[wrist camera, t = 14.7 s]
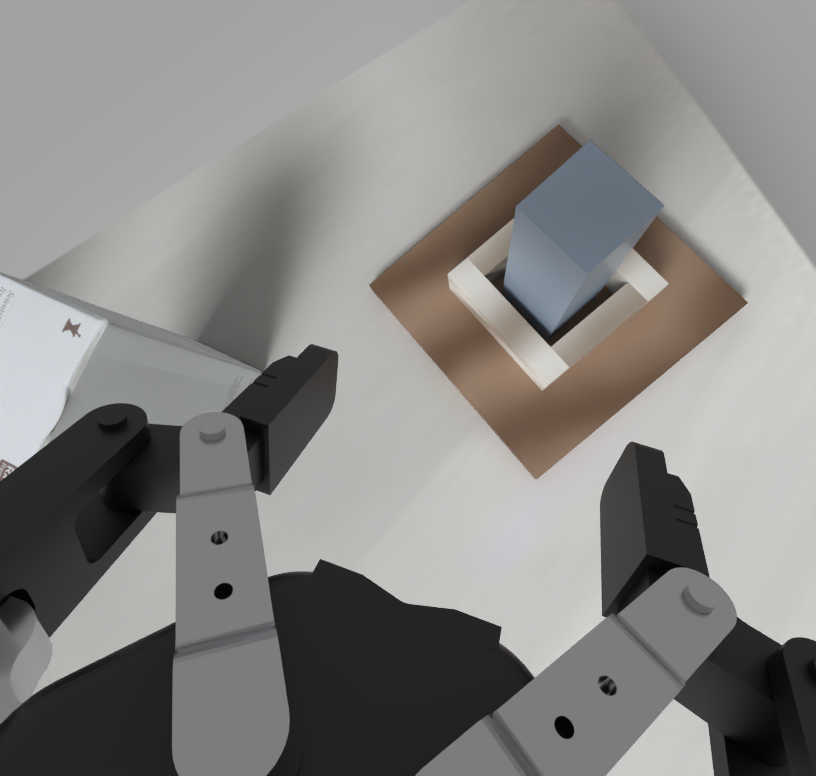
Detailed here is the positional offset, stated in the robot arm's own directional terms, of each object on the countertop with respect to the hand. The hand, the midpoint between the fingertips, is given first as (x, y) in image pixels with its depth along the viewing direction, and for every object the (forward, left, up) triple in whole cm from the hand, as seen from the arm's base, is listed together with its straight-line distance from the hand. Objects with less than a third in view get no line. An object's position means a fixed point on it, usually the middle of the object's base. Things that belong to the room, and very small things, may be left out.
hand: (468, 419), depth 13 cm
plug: (-4, +9, -17) cm, 19 cm away
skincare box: (-13, -13, -18) cm, 25 cm away
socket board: (-4, +9, -18) cm, 20 cm away
